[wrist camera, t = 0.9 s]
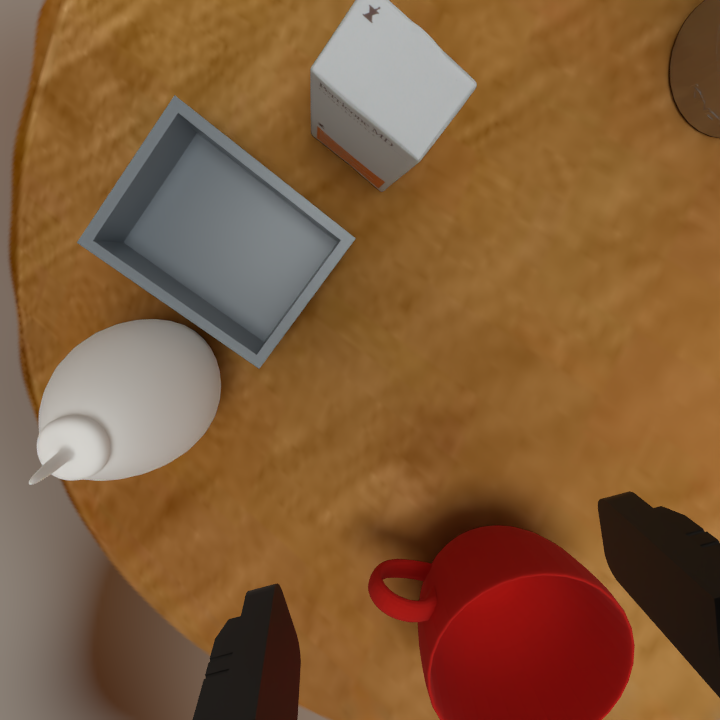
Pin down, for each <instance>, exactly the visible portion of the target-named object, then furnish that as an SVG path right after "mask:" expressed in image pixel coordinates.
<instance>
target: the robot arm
mask: <svg viewBox="0 0 720 720" xmlns="http://www.w3.org/2000/svg"><path fill="white" fill-rule="evenodd" d="M670 82H671V88H672V92H673V96H674V100H675V102H676V104H677V106H678V108H679V110H680V112H681V113H682V115H683V116H684V117H685V119H686V120H687V121H688V122H689V123H690V124H691V125H692V126H693V127H695V128H696V129H697V130H699V131H700V132H703V133H705V134H707V135H709V136H712V137H718V138H720V0H705V1H703V2H702V3H701V4H700V5H699V6H698V7H696V8H695V10H694V11H693V12H692V13H691V15H690V16H689V17H688V18H687V20H686V21H685V23H684V25H683V26H682V28H681V30H680V32H679V34H678V36H677V39H676V42H675V45H674V48H673V51H672V57H671V64H670ZM598 512H599V519H600V525H601V532H602V539H603V546H604V552H605V557H606V560H607V563H608V565H609V568H610V570H611V572H612V574H613V575H614V577H615V578H616V580H617V581H618V582H619V583H620V585H621V586H622V587H623V588H624V589H625V590H626V591H627V593H628V594H629V595H630V596H631V597H632V598H633V599H634V601H635V602H636V603H637V604H638V605H639V606H640V607H641V609H642V610H643V611H644V612H645V613H646V614H647V615H648V616H649V618H650V619H651V620H652V621H653V622H654V623H655V624H656V626H657V627H658V628H659V629H660V630H661V631H662V632H663V634H664V635H665V636H666V637H667V638H668V639H669V640H670V642H671V643H672V644H673V645H674V646H675V647H676V648H677V650H678V651H679V652H680V653H681V654H682V655H683V656H684V658H685V659H686V660H687V661H688V662H689V663H690V664H691V666H692V667H693V668H694V669H695V670H696V671H697V672H698V674H699V675H700V676H701V677H702V678H703V679H704V680H705V682H706V683H707V684H708V685H709V686H710V687H711V688H712V690H713V691H714V692H715V693H716V694H717V695H718V696H719V698H720V543H719V541H718V540H717V539H716V538H715V537H713V536H712V535H711V534H709V533H708V532H704V530H703V528H701V527H700V526H699V525H697V524H696V523H695V522H693V521H692V520H690V519H689V518H688V517H686V516H685V515H683V514H680V513H677V512H675V511H672V510H670V509H667V508H665V507H662V506H660V507H656V508H652V507H651V506H650V505H649V504H647V503H646V502H645V501H644V500H642V499H641V498H640V497H638V496H637V495H636V494H635V493H633V492H626V493H622V494H618V495H615V496H611V497H607V498H603V499H600V500H599V501H598ZM300 666H301V659H300V648H299V642H298V638H297V634H296V631H295V628H294V625H293V622H292V619H291V616H290V613H289V610H288V607H287V604H286V601H285V598H284V595H283V592H282V589H281V587H280V585H279V584H273V585H270V586H266V587H262V588H258V589H254V590H251V591H248V592H247V593H246V596H245V601H244V605H243V609H242V614H241V616H240V617H236V618H232V619H229V620H228V621H227V623H226V624H225V625H224V627H223V628H222V630H221V631H220V633H219V634H218V636H217V637H216V638H215V642H214V645H213V649H212V653H211V656H210V662H209V663H208V667H207V671H206V674H205V676H206V679H204V681H203V685H202V688H201V692H200V696H199V699H198V703H197V706H196V710H195V713H194V717H193V720H297V715H298V700H299V683H300Z"/></svg>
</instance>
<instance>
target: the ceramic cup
mask: <svg viewBox="0 0 720 720" xmlns="http://www.w3.org/2000/svg"><path fill="white" fill-rule="evenodd" d="M385 578H409V579H415V580H420V581H423V584H422V588H421V593H420V599H419V601H415V600H409V599H405V598H403V597H400V596H398V595H396V594H395V593H393V592H392V591H391V590H390V589H389V588H388V587H387V586H386V585H385V584H384V582H383V579H385ZM368 591H369V594H370V597H371V599H372V601H373V602H374V604H375V605H376V606H377V607H378V608H379V609H380V610H381V611H382V612H384V613H385V614H387V615H389V616H390V617H393V618H395V619H398V620H401V621H406V622H418V635H419V647H420V655H421V661H422V667H423V673H424V678H425V682H426V686H427V690H428V693H429V697H430V700H431V704H432V706H433V708H434V710H435V712H436V713H437V715H438V717H439V719H440V720H602V719H603V718H604V717H605V716H606V715H607V714H608V713H609V712H610V711H611V709H612V708H613V707H614V705H615V704H616V703H617V701H618V700H619V699H620V697H621V695H622V693H623V691H624V689H625V687H626V685H627V683H628V681H629V677H630V674H631V670H632V666H633V661H634V639H633V633H632V628H631V625H630V623H629V621H628V619H627V616H626V614H625V612H624V610H623V609H622V607H621V606H620V605H619V603H618V602H617V601H616V599H615V598H614V597H613V595H612V594H611V593H610V592H609V591H608V589H607V588H606V587H605V586H604V585H603V584H602V583H601V582H600V581H599V580H598V579H597V578H596V577H595V576H594V575H593V574H592V573H590V572H589V571H588V570H587V569H586V568H585V567H584V566H583V565H582V564H580V563H579V562H578V561H577V560H576V559H574V558H573V557H572V556H571V555H570V554H568V553H567V552H566V551H565V550H563V549H562V548H561V547H559V546H558V545H556V544H555V543H553V542H551V541H549V540H547V539H546V538H544V537H542V536H540V535H538V534H536V533H533V532H531V531H527V530H524V529H520V528H516V527H512V526H500V525H494V526H484V527H479V528H475V529H472V530H469V531H467V532H465V533H463V534H461V535H459V536H457V537H456V538H454V539H453V540H452V541H450V542H449V543H448V544H447V545H446V546H445V547H444V548H443V549H442V550H441V551H440V552H439V553H438V554H437V556H436V557H435V559H434V560H433V562H432V563H427V562H422V561H415V560H406V559H392V560H387V561H385V562H382V563H381V564H379V565H378V566H377V567H376V568H375V569H374V571H373V573H372V574H371V577H370V579H369V584H368Z"/></svg>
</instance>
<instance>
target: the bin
mask: <svg viewBox="0 0 720 720" xmlns="http://www.w3.org/2000/svg"><path fill="white" fill-rule="evenodd" d="M355 239H356V238H354V237H353V236H352V235H351V234H349V233H348V232H347V231H346V230H344V229H343V228H342V227H341V226H339V225H338V224H337V223H335V222H334V221H333V220H332V219H330V218H329V217H328V216H327V215H325V214H324V213H323V212H322V211H320V210H319V209H318V208H316V207H315V206H314V205H313V204H311V203H310V202H309V201H308V200H306V199H305V198H304V197H303V196H301V195H300V194H299V193H297V192H296V191H295V190H294V189H292V188H291V187H290V186H289V185H287V184H286V183H285V182H284V181H282V180H281V179H280V178H279V177H277V176H276V175H275V174H273V173H272V172H271V171H270V170H268V169H267V168H266V167H265V166H263V165H262V164H261V163H260V162H258V161H257V160H256V159H254V158H253V157H252V156H251V155H249V154H248V153H247V152H246V151H244V150H243V149H242V148H241V147H239V146H238V145H237V144H236V143H234V142H233V141H232V140H230V139H229V138H228V137H227V136H225V135H224V134H223V133H222V132H220V131H219V130H218V129H217V128H215V127H214V126H213V125H211V124H210V123H209V122H208V121H206V120H205V119H204V118H203V117H201V116H200V115H199V114H198V113H196V112H195V111H194V110H193V109H191V108H190V107H189V106H187V105H186V104H185V103H184V102H182V101H181V100H180V99H179V98H177V97H176V96H174V97H173V99H172V100H171V102H170V103H169V105H168V106H167V108H166V109H165V111H164V112H163V114H162V115H161V117H160V118H159V120H158V121H157V123H156V124H155V126H154V127H153V129H152V130H151V132H150V133H149V135H148V136H147V138H146V139H145V141H144V142H143V144H142V145H141V147H140V148H139V150H138V151H137V153H136V154H135V156H134V157H133V159H132V160H131V162H130V163H129V165H128V166H127V168H126V170H125V171H124V173H123V174H122V176H121V177H120V179H119V180H118V182H117V183H116V185H115V186H114V188H113V189H112V191H111V192H110V194H109V195H108V197H107V198H106V200H105V201H104V203H103V204H102V206H101V207H100V209H99V210H98V212H97V213H96V215H95V216H94V218H93V219H92V221H91V222H90V224H89V225H88V227H87V228H86V230H85V231H84V233H83V234H82V236H81V237H80V239H79V240H78V242H77V243H78V244H80V245H81V246H83V247H84V248H86V249H87V250H88V251H90V252H91V253H93V254H94V255H96V256H97V257H99V258H100V259H101V260H103V261H104V262H106V263H107V264H109V265H110V266H112V267H113V268H114V269H116V270H117V271H119V272H120V273H122V274H123V275H125V276H126V277H127V278H129V279H130V280H132V281H133V282H135V283H136V284H138V285H139V286H140V287H142V288H143V289H145V290H146V291H148V292H149V293H151V294H152V295H153V296H155V297H156V298H158V299H159V300H161V301H162V302H164V303H165V304H166V305H168V306H169V307H171V308H172V309H174V310H175V311H177V312H178V313H179V314H181V315H182V316H184V317H185V318H187V319H188V320H190V321H191V322H192V323H194V324H195V325H197V326H198V327H200V328H201V329H203V330H204V331H205V332H207V333H208V334H210V335H211V336H213V337H214V338H216V339H217V340H218V341H220V342H221V343H223V344H224V345H226V346H227V347H229V348H230V349H231V350H233V351H234V352H236V353H237V354H239V355H240V356H242V357H243V358H244V359H246V360H247V361H249V362H250V363H252V364H253V365H255V366H256V367H257V368H260V367H261V366H262V364H263V363H264V362H265V360H266V359H267V358H268V356H269V355H270V354H271V352H272V351H273V349H274V348H275V347H276V345H277V344H278V343H279V341H280V340H281V339H282V337H283V336H284V335H285V333H286V332H287V331H288V329H289V328H290V326H291V325H292V324H293V322H294V321H295V320H296V318H297V317H298V316H299V314H300V313H301V312H302V310H303V309H304V308H305V306H306V305H307V303H308V302H309V301H310V299H311V298H312V297H313V295H314V294H315V293H316V291H317V290H318V289H319V287H320V286H321V285H322V283H323V282H324V281H325V279H326V278H327V276H328V275H329V274H330V272H331V271H332V270H333V268H334V267H335V266H336V264H337V263H338V262H339V260H340V259H341V258H342V256H343V255H344V253H345V252H346V251H347V249H348V248H349V247H350V245H351V244H352V243H353V241H354V240H355Z"/></svg>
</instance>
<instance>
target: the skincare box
mask: <svg viewBox="0 0 720 720" xmlns="http://www.w3.org/2000/svg"><path fill="white" fill-rule="evenodd" d="M476 87H477V83H476V82H475V80H474V79H473V78H472V77H471V76H470V75H468V74H467V73H466V72H465V71H464V70H463V69H462V68H461V67H460V66H459V65H458V64H457V63H456V62H455V61H453V60H452V59H451V58H450V57H449V56H448V55H447V54H446V53H445V52H444V51H443V50H442V49H441V48H440V47H439V46H438V45H437V44H436V42H435V41H434V40H433V39H432V38H431V37H430V36H429V35H428V34H427V33H426V32H425V31H424V30H423V29H422V28H421V27H419V26H418V25H417V24H415V23H414V22H412V21H411V20H410V19H409V18H408V17H407V16H406V15H405V14H404V13H402V12H401V11H400V10H399V9H398V8H397V7H396V6H395V5H393V4H392V3H391V2H390V1H389V0H355V2H354V3H353V5H352V6H351V8H350V9H349V11H348V12H347V14H346V16H345V17H344V19H343V20H342V22H341V23H340V25H339V26H338V28H337V29H336V31H335V32H334V34H333V35H332V37H331V38H330V40H329V41H328V43H327V44H326V46H325V47H324V49H323V50H322V52H321V53H320V55H319V56H318V58H317V59H316V61H315V62H314V64H313V65H312V67H311V134H312V136H314V137H315V138H316V139H318V140H319V141H320V142H322V143H323V144H324V145H325V146H327V147H328V148H329V149H330V150H332V151H333V152H334V153H335V154H337V155H338V156H339V157H340V158H342V159H343V160H344V161H345V162H347V163H348V164H349V165H350V166H351V167H353V168H354V169H355V170H356V171H357V172H358V173H360V174H361V175H362V176H363V177H364V178H365V179H367V180H368V181H369V182H370V183H371V184H372V185H374V186H375V187H376V188H377V189H378V190H379V191H381V192H383V191H384V190H385V189H387V188H388V187H389V186H390V185H391V184H393V183H394V182H395V181H396V180H398V179H399V178H400V177H401V176H403V175H404V174H405V173H406V172H408V171H409V170H410V169H411V168H413V167H414V166H415V165H416V164H418V163H419V162H420V161H421V160H422V158H423V157H424V156H425V155H426V153H427V152H428V151H429V149H430V148H431V147H432V146H433V144H434V143H435V142H436V140H437V139H438V138H439V136H440V135H441V134H442V133H443V131H444V130H445V129H446V127H447V126H448V125H449V123H450V122H451V121H452V119H453V118H454V117H455V116H456V114H457V113H458V112H459V110H460V109H461V108H462V106H463V105H464V104H465V102H466V101H467V100H468V98H469V97H470V95H471V94H472V93H473V91H474V90H475V89H476Z"/></svg>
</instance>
